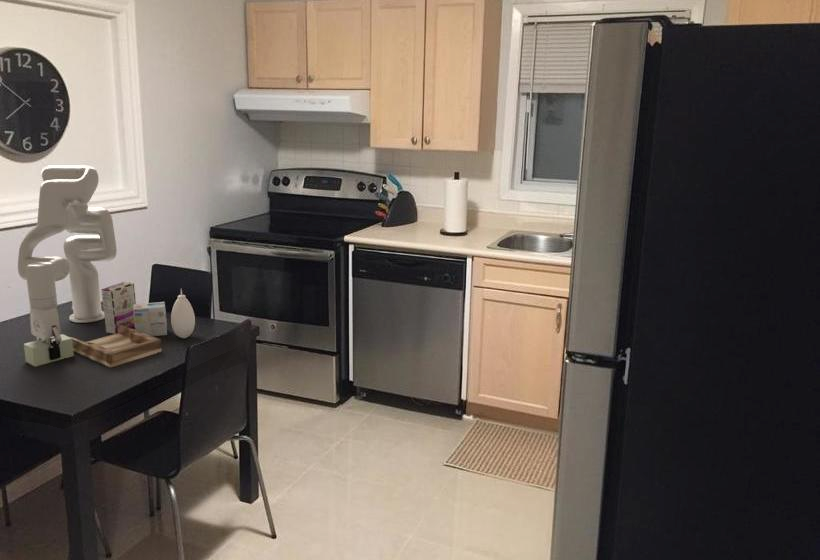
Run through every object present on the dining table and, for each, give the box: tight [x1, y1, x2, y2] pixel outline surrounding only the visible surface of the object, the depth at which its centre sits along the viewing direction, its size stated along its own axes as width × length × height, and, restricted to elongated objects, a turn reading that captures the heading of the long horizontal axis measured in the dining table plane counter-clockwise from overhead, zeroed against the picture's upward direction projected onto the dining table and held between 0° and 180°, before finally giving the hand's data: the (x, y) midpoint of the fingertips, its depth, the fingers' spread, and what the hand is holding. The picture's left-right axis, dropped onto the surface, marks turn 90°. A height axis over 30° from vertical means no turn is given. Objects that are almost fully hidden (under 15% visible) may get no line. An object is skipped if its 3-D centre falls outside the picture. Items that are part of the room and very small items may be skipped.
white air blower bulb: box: [170, 288, 196, 339], centre depth 228 cm, size 8×8×18 cm
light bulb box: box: [133, 301, 168, 337], centre depth 232 cm, size 11×7×11 cm, turn 111°
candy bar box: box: [101, 281, 137, 335], centre depth 235 cm, size 11×5×16 cm, turn 161°
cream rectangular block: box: [23, 333, 75, 368], centre depth 207 cm, size 6×12×6 cm, turn 143°
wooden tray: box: [69, 325, 163, 368], centre depth 216 cm, size 24×18×4 cm
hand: (49, 355), depth 208 cm, fingers closed on cream rectangular block, 6 cm apart
